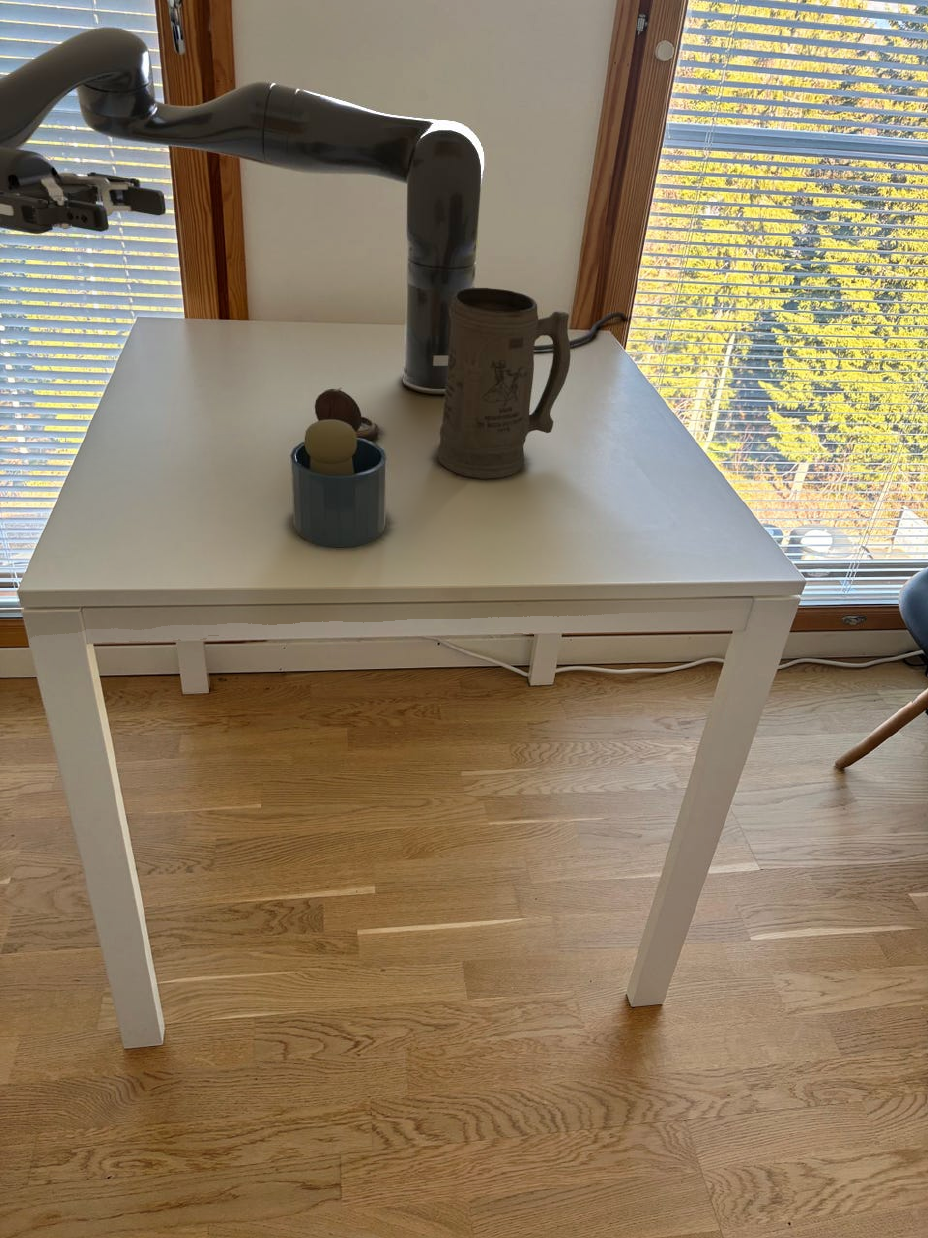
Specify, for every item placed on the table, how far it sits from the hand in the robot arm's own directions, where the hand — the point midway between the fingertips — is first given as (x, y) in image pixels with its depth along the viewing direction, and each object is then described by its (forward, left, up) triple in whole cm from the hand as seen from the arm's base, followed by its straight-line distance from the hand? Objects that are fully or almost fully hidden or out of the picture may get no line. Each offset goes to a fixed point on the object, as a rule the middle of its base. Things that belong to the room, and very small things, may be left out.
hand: (135, 210), depth 86 cm
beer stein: (-37, +12, -28) cm, 48 cm away
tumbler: (-12, +18, -28) cm, 36 cm away
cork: (-11, +19, -28) cm, 35 cm away
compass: (-23, -2, -28) cm, 36 cm away
